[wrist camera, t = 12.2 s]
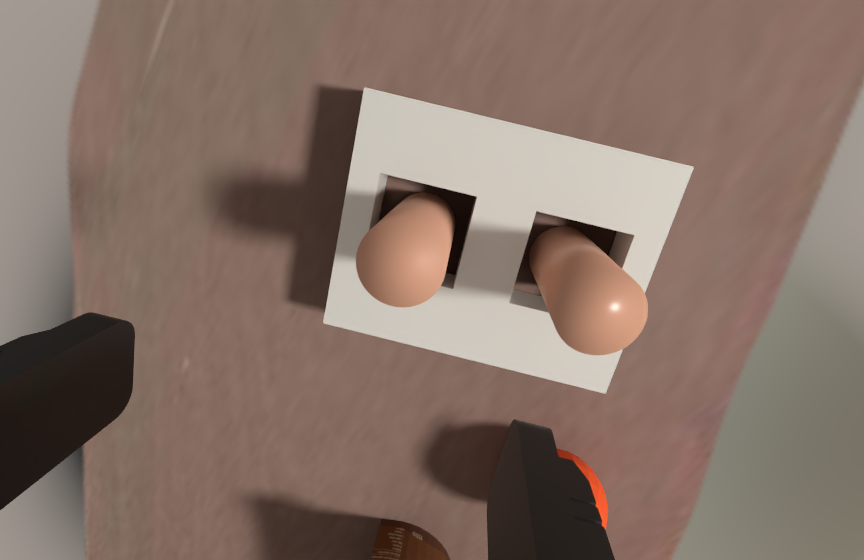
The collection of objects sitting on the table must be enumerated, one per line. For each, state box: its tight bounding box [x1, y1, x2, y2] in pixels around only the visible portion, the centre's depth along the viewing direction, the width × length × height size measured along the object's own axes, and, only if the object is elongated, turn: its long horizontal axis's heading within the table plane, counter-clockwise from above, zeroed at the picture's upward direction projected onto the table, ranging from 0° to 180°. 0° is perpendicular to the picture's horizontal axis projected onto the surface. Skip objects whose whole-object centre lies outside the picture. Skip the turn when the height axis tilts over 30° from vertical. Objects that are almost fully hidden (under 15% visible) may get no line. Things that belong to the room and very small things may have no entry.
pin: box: [356, 192, 455, 307], centre depth 26 cm, size 4×4×10 cm
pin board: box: [323, 87, 694, 394], centre depth 26 cm, size 14×18×10 cm
